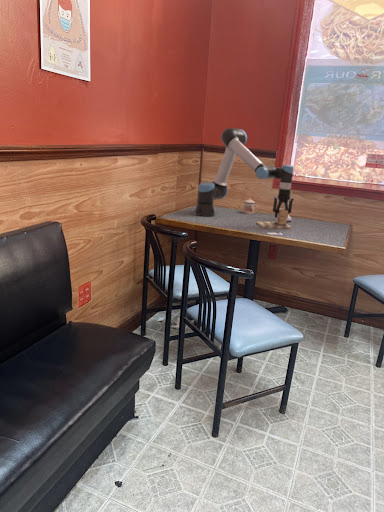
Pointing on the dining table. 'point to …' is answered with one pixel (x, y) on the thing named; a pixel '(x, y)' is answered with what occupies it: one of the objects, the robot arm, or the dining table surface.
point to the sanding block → (282, 217)
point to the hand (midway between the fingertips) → (280, 222)
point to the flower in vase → (288, 203)
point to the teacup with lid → (249, 206)
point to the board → (272, 225)
